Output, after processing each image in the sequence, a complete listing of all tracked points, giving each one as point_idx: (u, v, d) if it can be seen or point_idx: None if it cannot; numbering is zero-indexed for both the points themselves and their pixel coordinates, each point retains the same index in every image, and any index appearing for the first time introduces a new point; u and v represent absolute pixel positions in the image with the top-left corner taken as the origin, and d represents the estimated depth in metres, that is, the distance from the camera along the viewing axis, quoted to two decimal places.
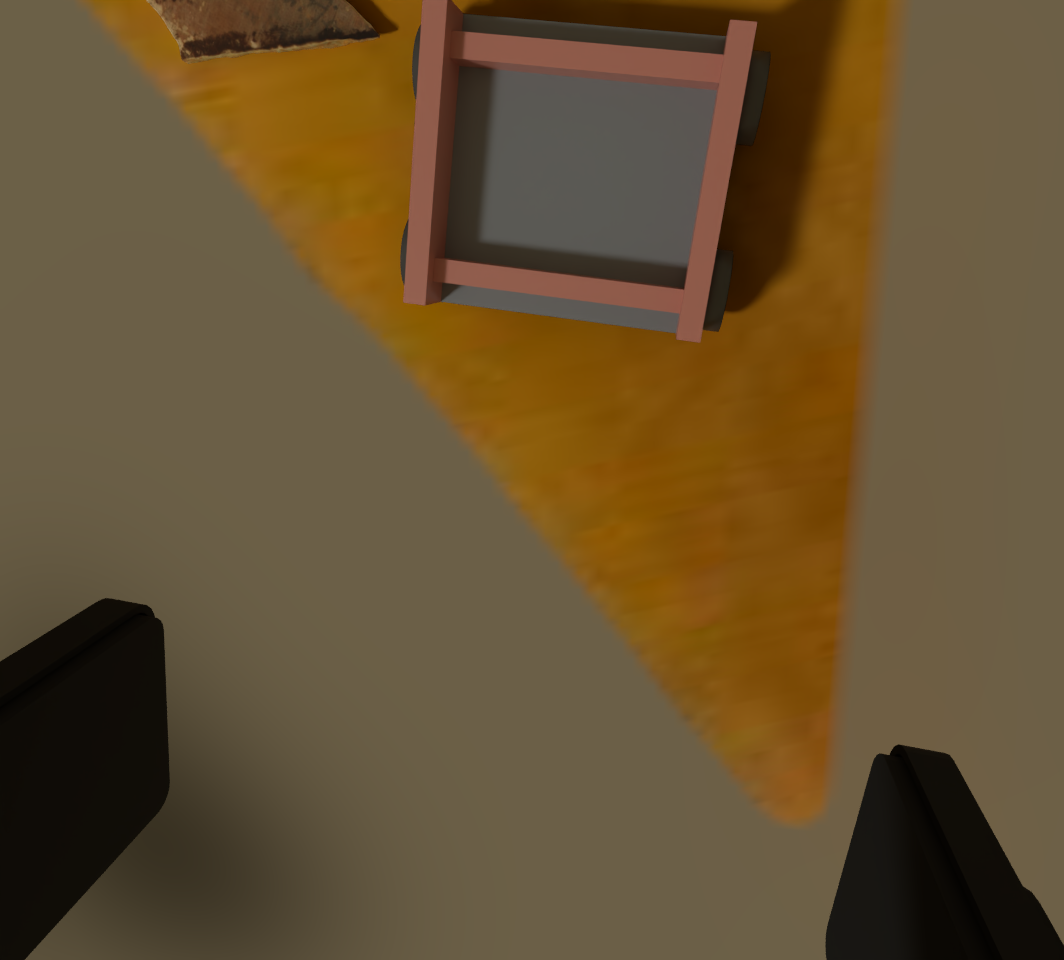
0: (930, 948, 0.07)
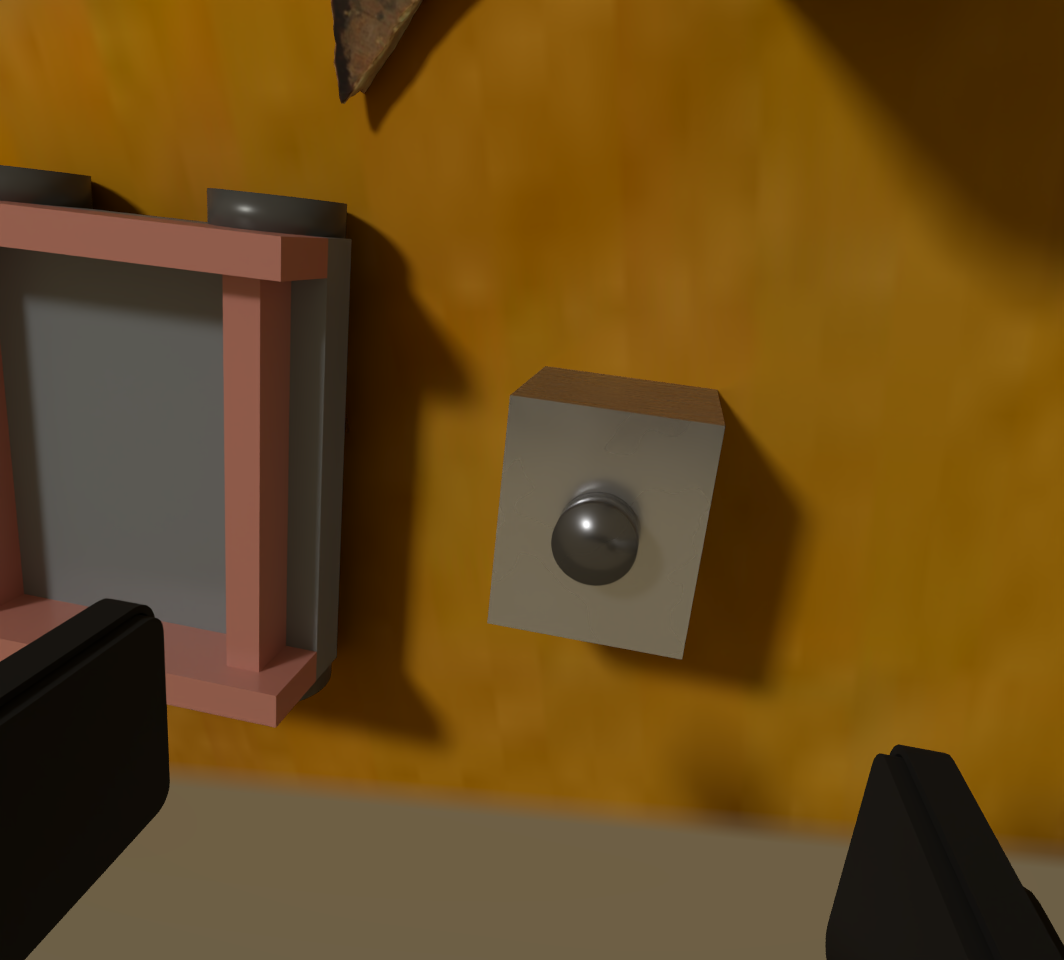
0: (930, 948, 0.07)
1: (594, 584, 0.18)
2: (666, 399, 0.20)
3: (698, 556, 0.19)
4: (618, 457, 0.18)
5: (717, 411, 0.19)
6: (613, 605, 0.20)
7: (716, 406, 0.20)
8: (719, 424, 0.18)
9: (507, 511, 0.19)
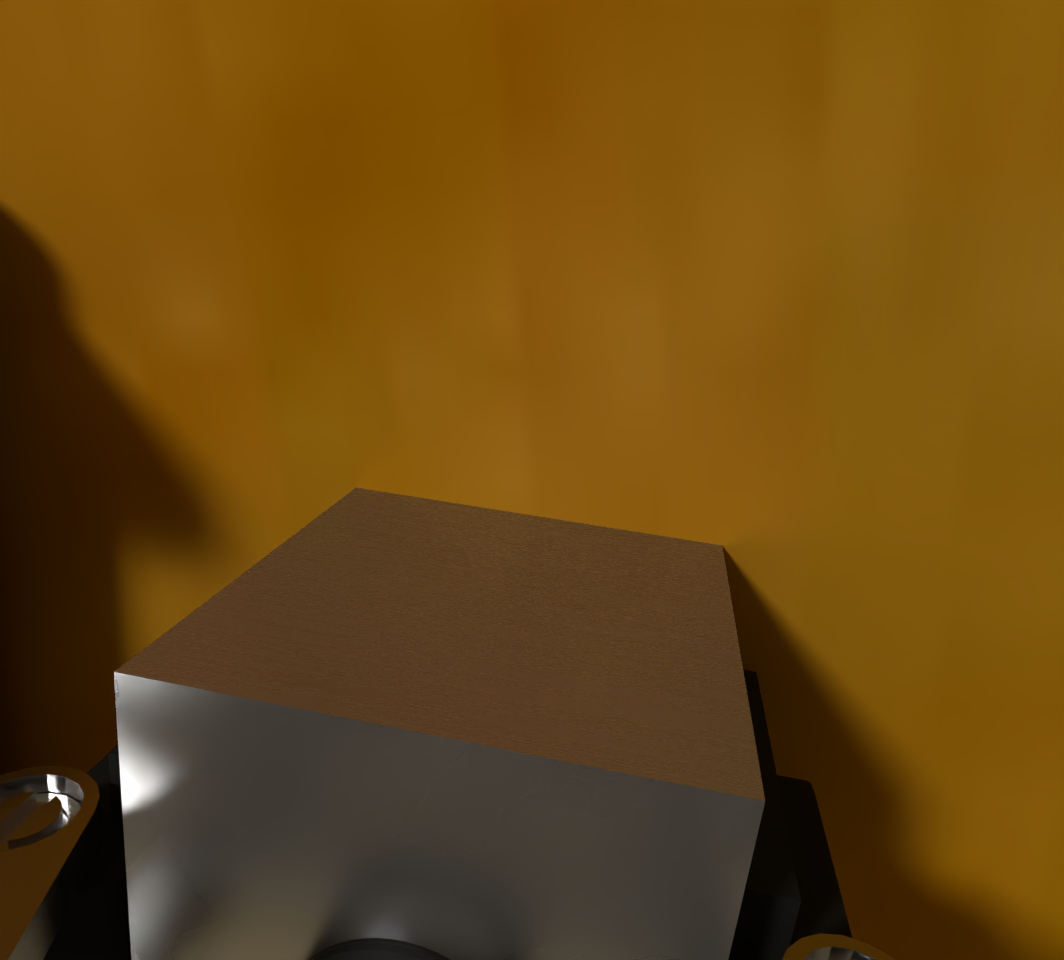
0: None
1: None
2: (598, 620, 0.08)
3: None
4: (439, 858, 0.06)
5: (731, 677, 0.07)
6: None
7: (726, 643, 0.08)
8: (745, 790, 0.06)
9: None
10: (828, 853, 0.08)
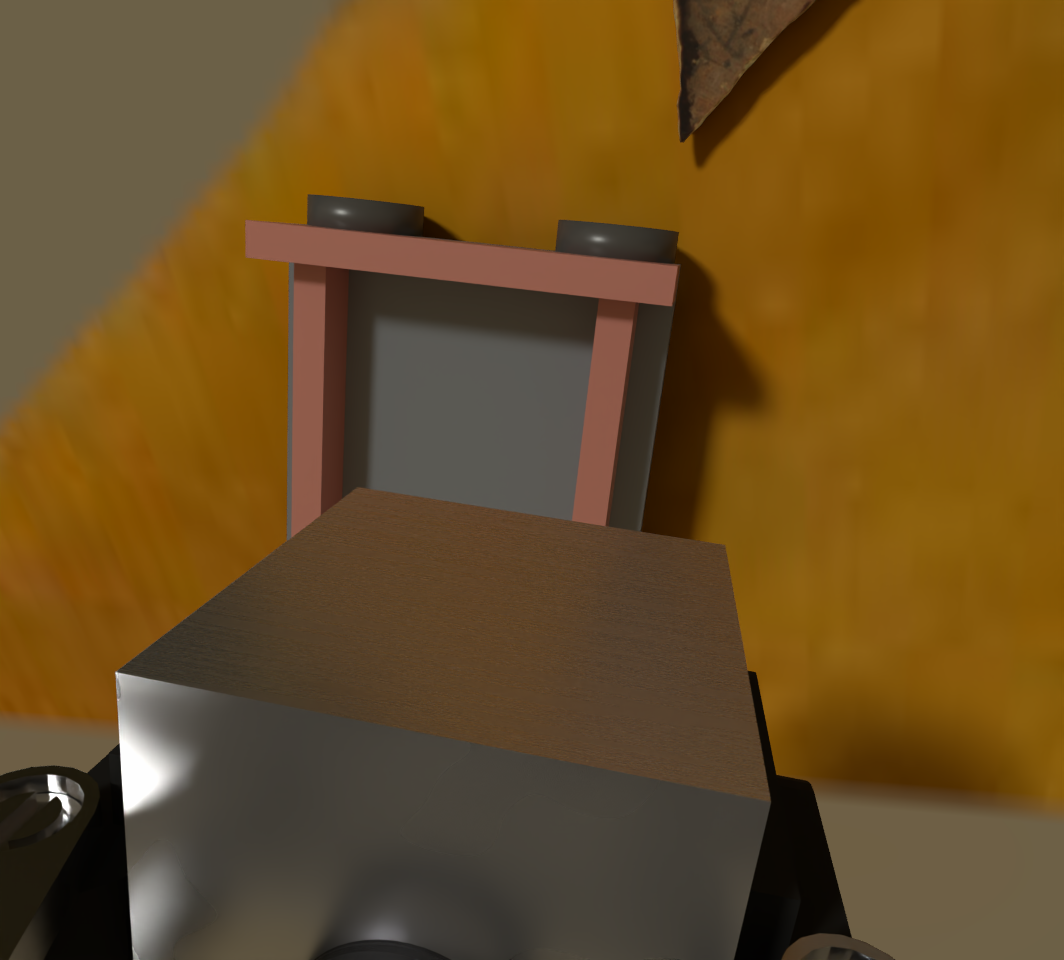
0: None
1: None
2: (601, 620, 0.08)
3: None
4: (442, 861, 0.06)
5: (736, 677, 0.07)
6: None
7: (731, 643, 0.08)
8: (751, 791, 0.06)
9: None
10: (827, 853, 0.08)
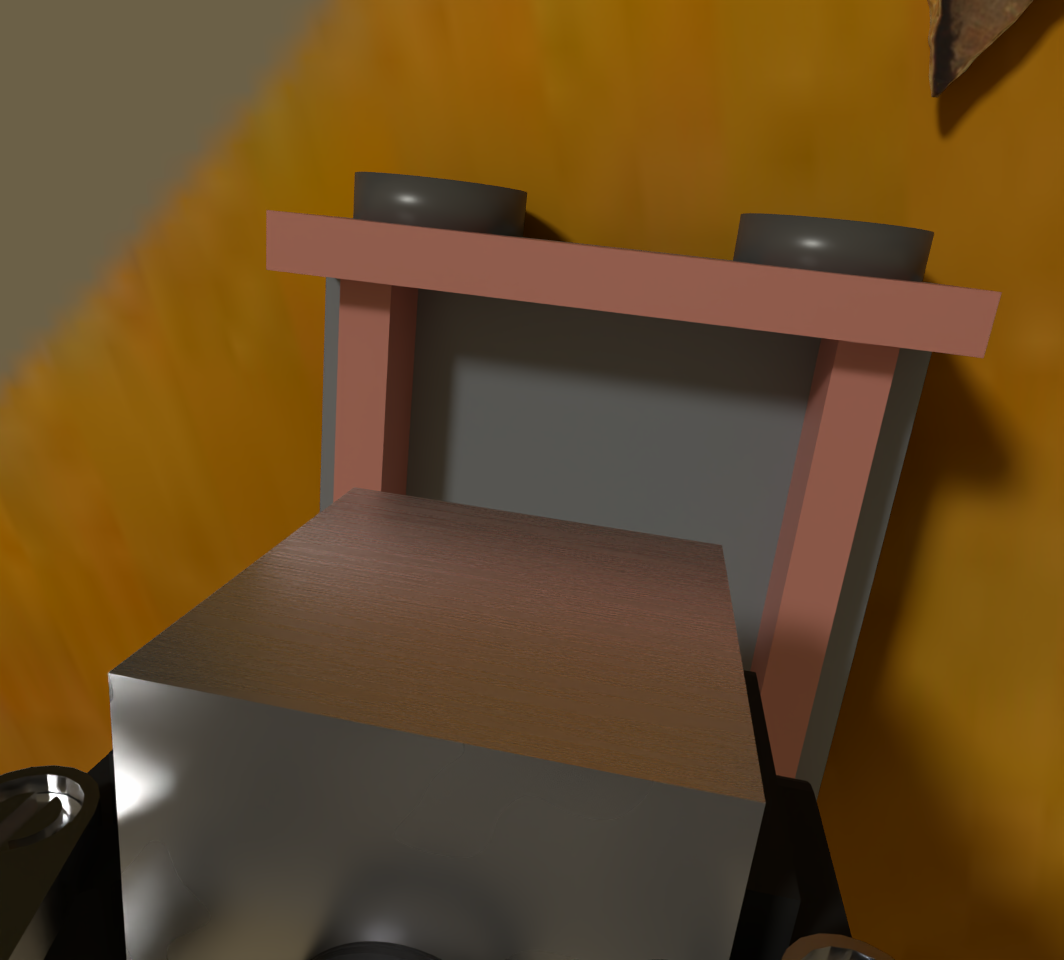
0: None
1: None
2: (597, 621, 0.08)
3: None
4: (437, 861, 0.06)
5: (732, 678, 0.07)
6: None
7: (727, 644, 0.08)
8: (746, 792, 0.06)
9: None
10: (828, 853, 0.08)
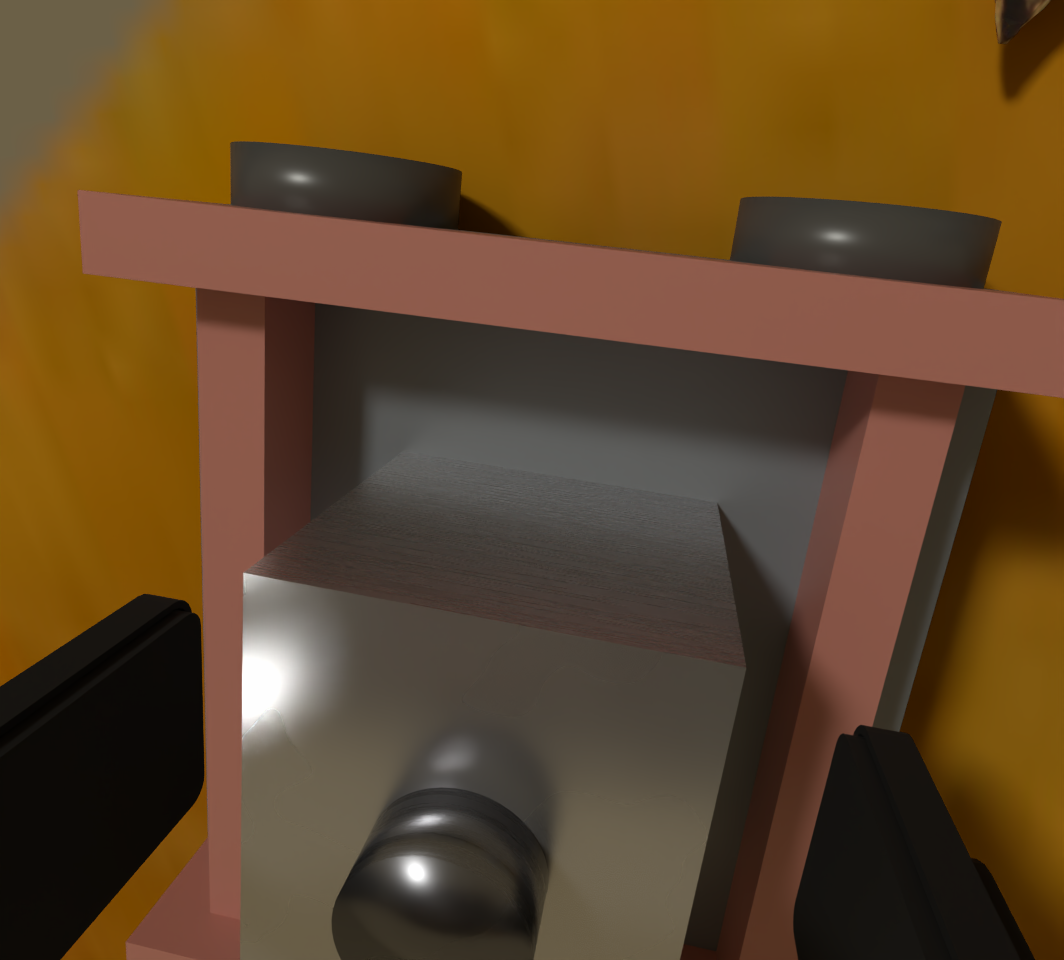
0: (880, 914, 0.07)
1: None
2: (615, 552, 0.10)
3: (679, 935, 0.08)
4: (495, 720, 0.08)
5: (723, 592, 0.09)
6: None
7: (719, 570, 0.09)
8: (731, 661, 0.07)
9: (259, 812, 0.09)
10: (1030, 954, 0.07)
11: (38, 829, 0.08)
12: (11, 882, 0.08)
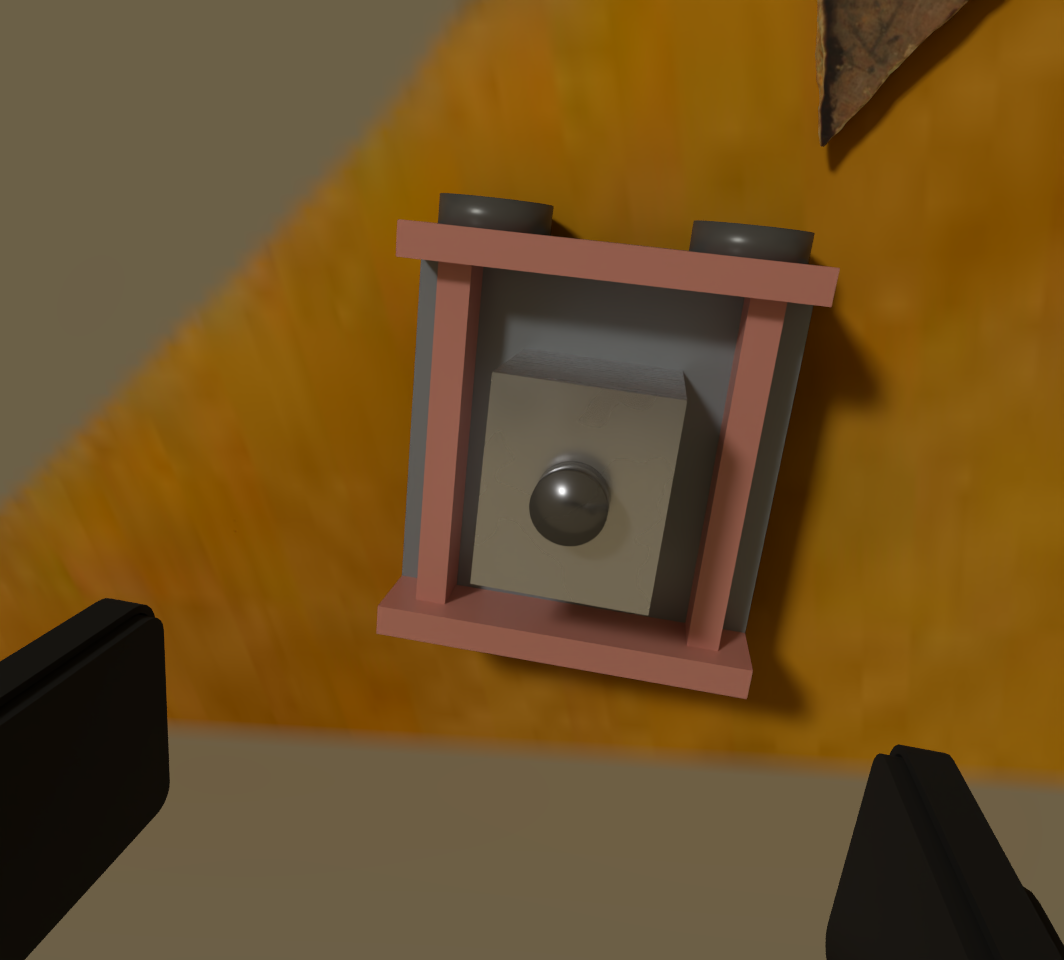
0: (930, 948, 0.07)
1: (568, 545, 0.20)
2: (635, 378, 0.22)
3: (663, 520, 0.21)
4: (591, 429, 0.20)
5: (681, 389, 0.21)
6: (586, 566, 0.21)
7: (680, 384, 0.22)
8: (682, 399, 0.20)
9: (489, 479, 0.21)
10: None
11: None
12: None
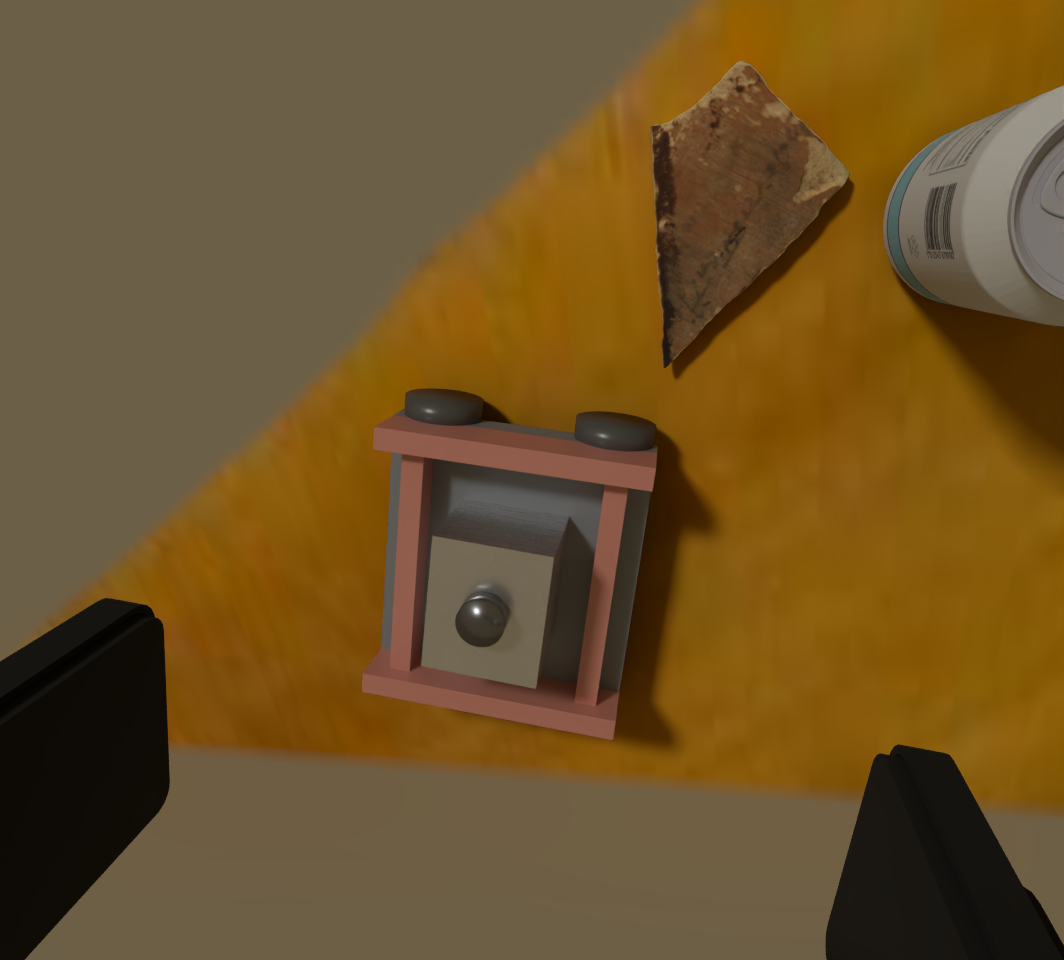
0: (930, 949, 0.07)
1: (480, 646, 0.32)
2: (529, 531, 0.34)
3: (542, 629, 0.32)
4: (495, 572, 0.32)
5: (556, 542, 0.33)
6: (495, 656, 0.33)
7: (558, 536, 0.33)
8: (551, 556, 0.31)
9: (431, 601, 0.33)
10: None
11: None
12: None
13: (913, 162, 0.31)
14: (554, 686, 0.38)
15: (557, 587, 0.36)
